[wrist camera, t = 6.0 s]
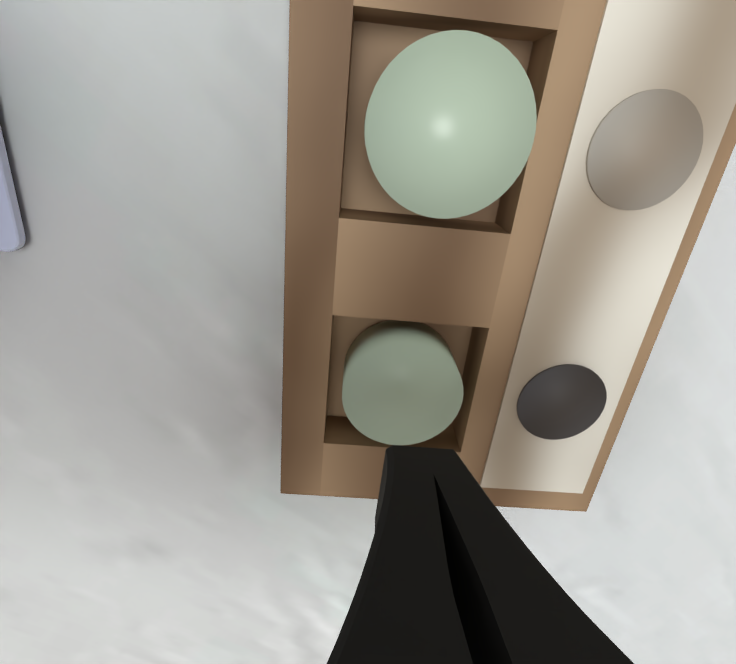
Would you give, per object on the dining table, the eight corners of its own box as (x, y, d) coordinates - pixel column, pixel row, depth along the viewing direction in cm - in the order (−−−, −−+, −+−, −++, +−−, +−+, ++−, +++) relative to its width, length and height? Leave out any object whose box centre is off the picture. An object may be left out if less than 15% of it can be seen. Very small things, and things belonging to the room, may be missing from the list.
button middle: (358, 199, 13) (357, 211, 11) (372, 34, 11) (373, 19, 9) (494, 213, 13) (514, 225, 11) (528, 53, 11) (556, 41, 10)
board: (290, 449, 19) (279, 497, 17) (321, -645, 8) (304, -965, 6) (560, 467, 20) (588, 515, 17) (911, -527, 9) (1117, -771, 7)
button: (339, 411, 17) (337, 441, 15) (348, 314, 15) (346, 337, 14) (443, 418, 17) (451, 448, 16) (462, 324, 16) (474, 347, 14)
